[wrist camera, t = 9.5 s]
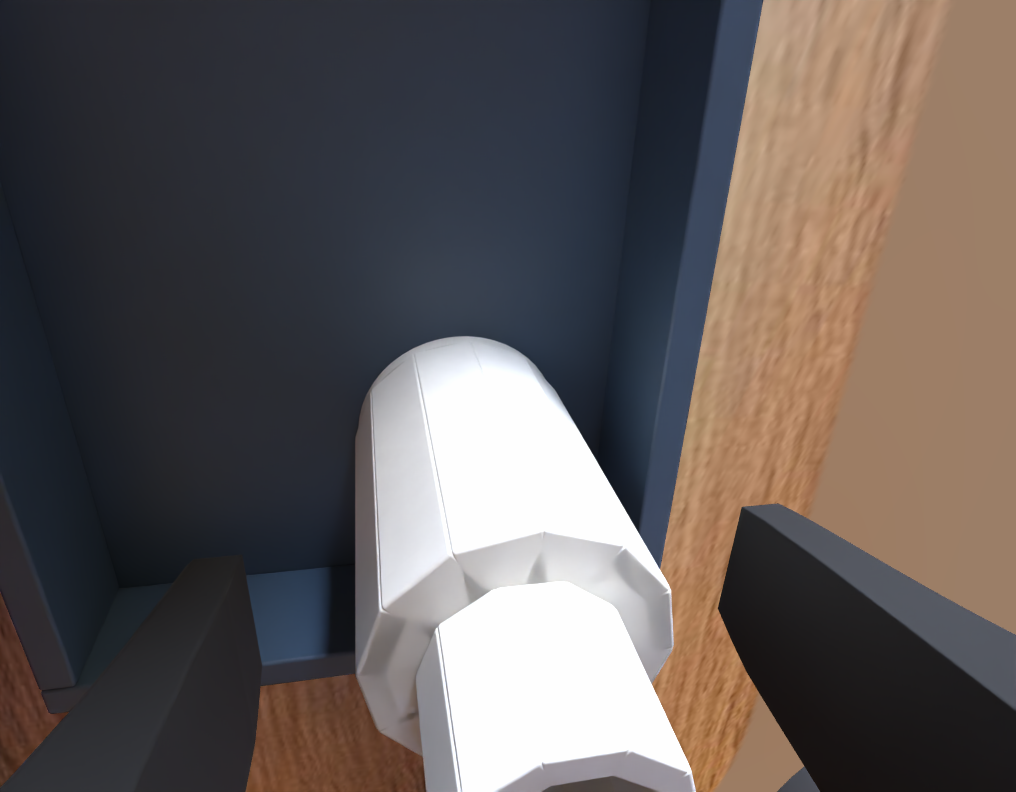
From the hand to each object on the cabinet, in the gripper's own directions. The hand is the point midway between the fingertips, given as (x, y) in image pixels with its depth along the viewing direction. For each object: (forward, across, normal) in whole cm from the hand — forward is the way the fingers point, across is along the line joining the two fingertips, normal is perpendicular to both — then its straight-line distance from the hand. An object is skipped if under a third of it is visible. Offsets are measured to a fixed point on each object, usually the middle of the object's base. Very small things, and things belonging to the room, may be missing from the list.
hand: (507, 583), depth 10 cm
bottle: (+5, 0, 0) cm, 5 cm away
